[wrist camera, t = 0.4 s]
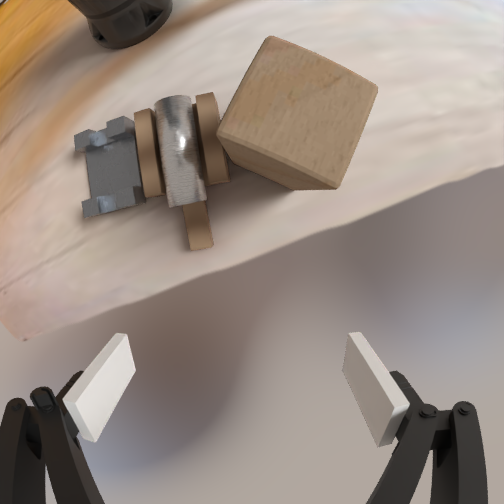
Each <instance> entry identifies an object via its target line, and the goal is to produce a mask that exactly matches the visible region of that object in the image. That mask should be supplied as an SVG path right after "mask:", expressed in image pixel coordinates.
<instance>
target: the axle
mask: <svg viewBox="0 0 504 504" xmlns="http://www.w3.org/2000/svg"><path fill="white" fill-rule="evenodd" d="M154 110H155V119H156V127H157V135H158V142H159V149H160V156H161V163H162V169H163V175H164V181H165V187H166V193H167V199H168V204H169V208H170V207H175V206H180V205H185V204H190V203H195V202H200V201H205V200H207V196H206V190H205V184H204V179H203V173H202V167H201V161H200V155H199V148H198V142H197V136H196V129H195V123H194V116H193V109H192V102H191V98H190V97H188V96H184V95H177V96H170V97H166V98H163V99H161V100H159V101H157V102H156V103H155V104H154Z"/></svg>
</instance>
